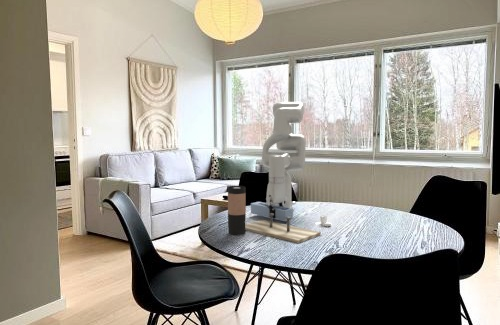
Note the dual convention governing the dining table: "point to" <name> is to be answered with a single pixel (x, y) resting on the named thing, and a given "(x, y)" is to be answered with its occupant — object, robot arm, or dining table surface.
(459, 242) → the dining table surface
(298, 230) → the board
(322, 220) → the white curved piece
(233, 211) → the travel mug
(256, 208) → the blue slotted peg holder
